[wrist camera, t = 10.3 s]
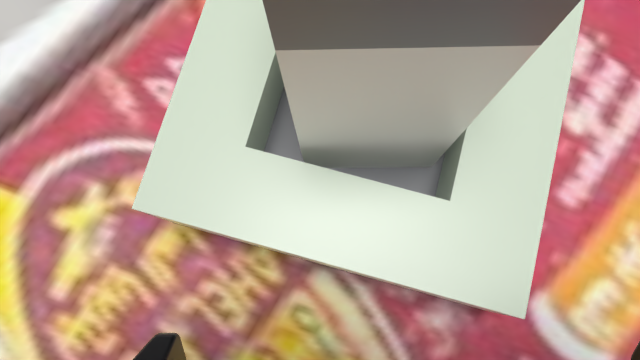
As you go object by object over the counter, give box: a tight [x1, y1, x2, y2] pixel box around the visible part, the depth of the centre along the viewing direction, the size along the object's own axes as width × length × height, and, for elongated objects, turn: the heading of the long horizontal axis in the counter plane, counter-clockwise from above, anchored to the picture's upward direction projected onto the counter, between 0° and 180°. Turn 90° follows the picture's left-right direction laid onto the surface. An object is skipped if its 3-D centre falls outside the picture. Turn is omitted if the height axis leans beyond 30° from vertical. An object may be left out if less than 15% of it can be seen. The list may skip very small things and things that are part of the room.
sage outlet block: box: [132, 0, 585, 319], centre depth 18 cm, size 13×13×4 cm
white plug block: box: [262, 0, 581, 168], centre depth 13 cm, size 5×5×12 cm
